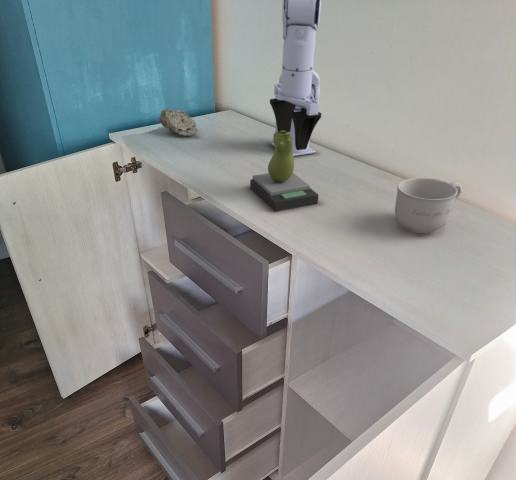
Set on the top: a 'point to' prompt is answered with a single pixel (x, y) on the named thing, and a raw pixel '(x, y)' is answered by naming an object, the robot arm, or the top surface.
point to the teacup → (425, 203)
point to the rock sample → (178, 122)
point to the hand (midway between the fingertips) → (292, 142)
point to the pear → (282, 157)
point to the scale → (283, 192)
